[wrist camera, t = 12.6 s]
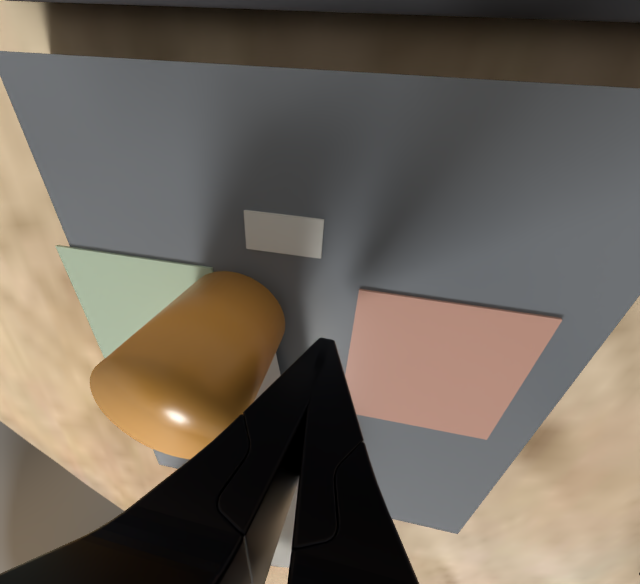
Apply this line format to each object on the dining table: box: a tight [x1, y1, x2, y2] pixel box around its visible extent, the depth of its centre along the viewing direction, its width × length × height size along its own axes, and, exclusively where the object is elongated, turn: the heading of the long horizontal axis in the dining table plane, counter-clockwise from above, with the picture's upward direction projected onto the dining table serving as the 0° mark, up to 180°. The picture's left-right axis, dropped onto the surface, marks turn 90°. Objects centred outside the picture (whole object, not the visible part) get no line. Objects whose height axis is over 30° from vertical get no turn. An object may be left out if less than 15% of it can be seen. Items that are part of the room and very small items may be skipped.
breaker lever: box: [90, 271, 299, 567], centre depth 11 cm, size 14×4×4 cm, turn 6°
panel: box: [0, 51, 640, 534], centre depth 12 cm, size 18×20×2 cm
